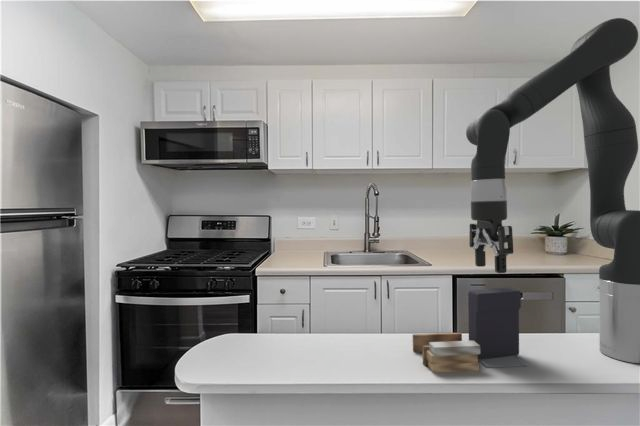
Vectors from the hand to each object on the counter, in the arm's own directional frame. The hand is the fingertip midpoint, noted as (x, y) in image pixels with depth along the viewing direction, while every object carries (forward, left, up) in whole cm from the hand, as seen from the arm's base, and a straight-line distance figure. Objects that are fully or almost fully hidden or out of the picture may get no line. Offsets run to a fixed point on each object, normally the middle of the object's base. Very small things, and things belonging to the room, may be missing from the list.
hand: (490, 269), depth 79 cm
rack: (+11, 0, -20) cm, 23 cm away
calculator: (0, +1, -20) cm, 20 cm away
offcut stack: (+12, +6, -20) cm, 24 cm away
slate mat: (0, 0, -20) cm, 20 cm away
